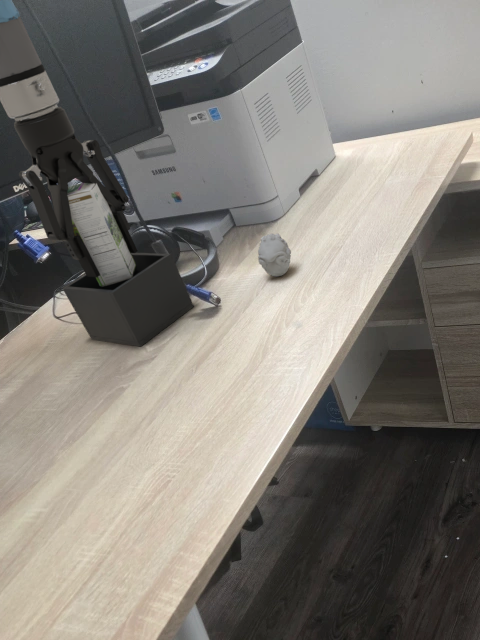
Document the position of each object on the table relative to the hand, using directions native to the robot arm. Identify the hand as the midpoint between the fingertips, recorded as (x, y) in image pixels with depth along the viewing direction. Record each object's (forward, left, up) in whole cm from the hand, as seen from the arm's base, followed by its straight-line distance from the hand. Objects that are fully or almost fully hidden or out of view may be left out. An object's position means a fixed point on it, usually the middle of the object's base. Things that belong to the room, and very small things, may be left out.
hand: (112, 263), depth 109 cm
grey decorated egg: (+17, +20, -11) cm, 29 cm away
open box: (0, 0, -11) cm, 11 cm away
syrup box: (0, 0, -3) cm, 3 cm away
